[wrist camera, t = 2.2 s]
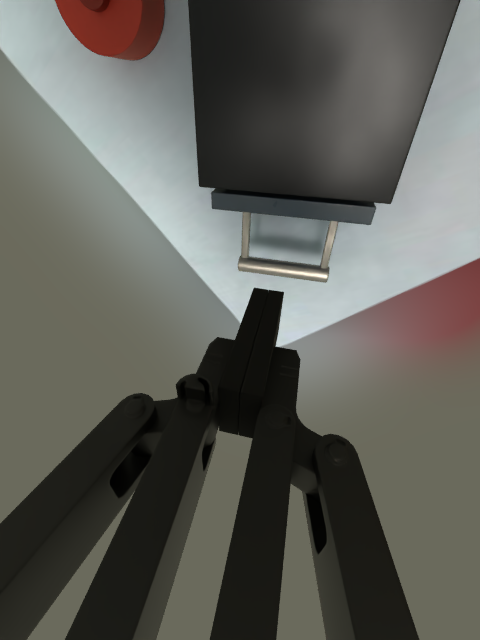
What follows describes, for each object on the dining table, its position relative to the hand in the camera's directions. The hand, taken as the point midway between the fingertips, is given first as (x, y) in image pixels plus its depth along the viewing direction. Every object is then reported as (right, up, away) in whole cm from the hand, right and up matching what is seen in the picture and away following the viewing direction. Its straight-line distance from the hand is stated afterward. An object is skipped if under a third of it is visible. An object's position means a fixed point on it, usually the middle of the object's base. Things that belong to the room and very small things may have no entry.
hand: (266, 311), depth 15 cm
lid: (-10, +23, +6) cm, 26 cm away
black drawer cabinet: (+4, +19, +6) cm, 20 cm away
